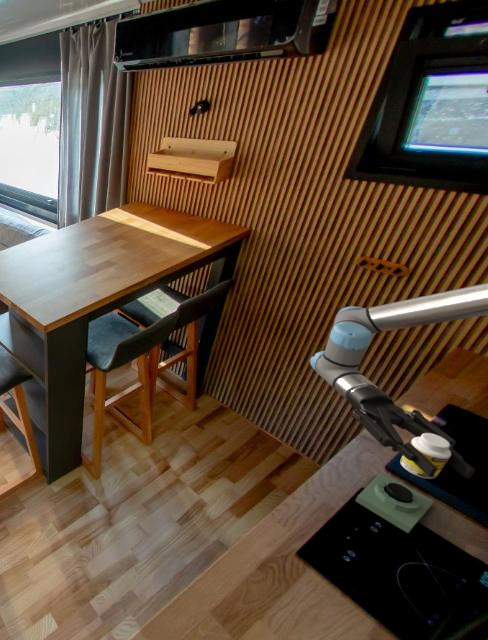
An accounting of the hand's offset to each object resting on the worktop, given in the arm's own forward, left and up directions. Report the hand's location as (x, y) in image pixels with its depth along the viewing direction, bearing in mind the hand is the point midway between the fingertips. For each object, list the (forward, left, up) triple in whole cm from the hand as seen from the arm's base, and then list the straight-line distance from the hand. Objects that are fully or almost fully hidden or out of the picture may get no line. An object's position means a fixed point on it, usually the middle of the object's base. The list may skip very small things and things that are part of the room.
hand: (451, 473), depth 78 cm
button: (+4, -3, -14) cm, 15 cm away
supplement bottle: (+2, -5, -6) cm, 8 cm away
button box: (+4, -3, -18) cm, 18 cm away
